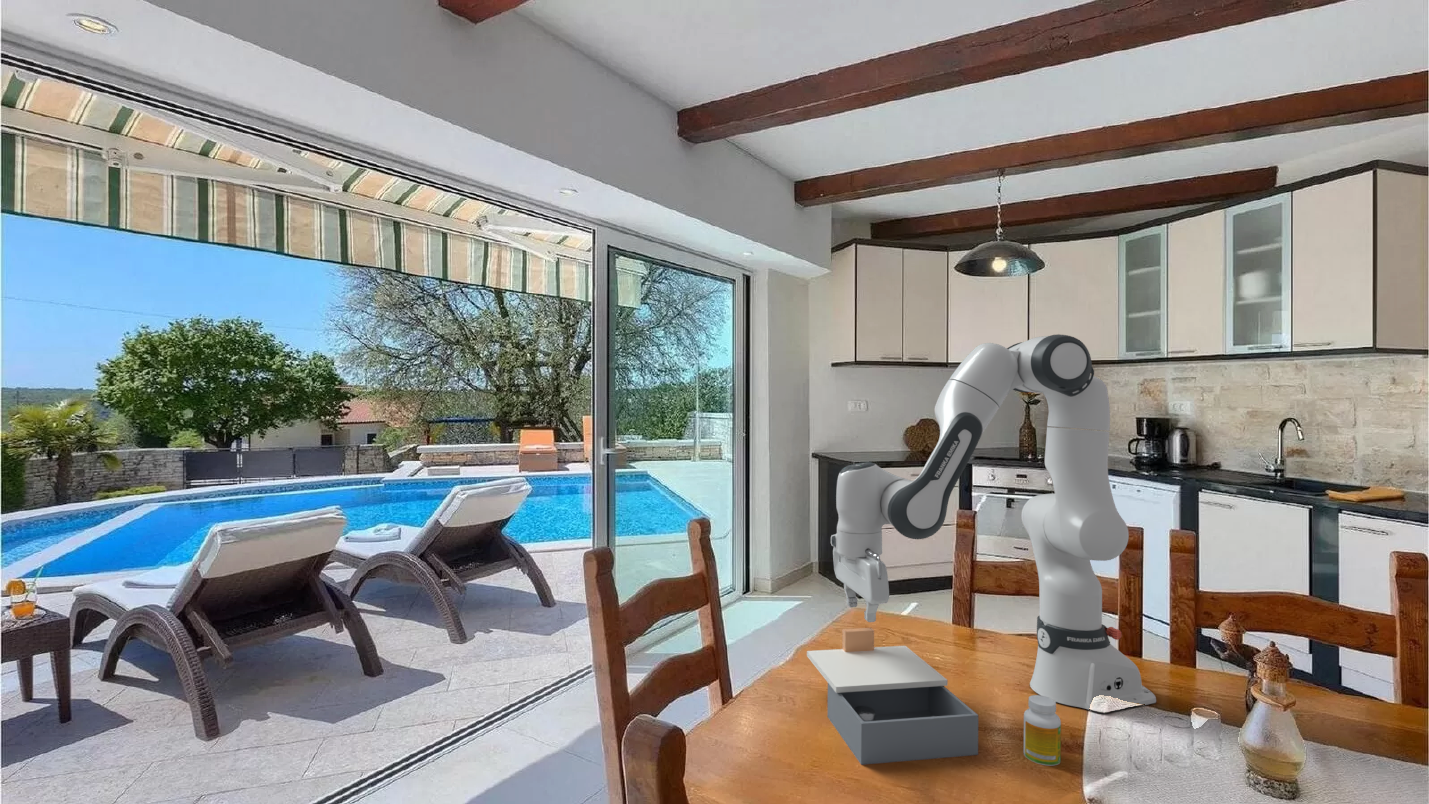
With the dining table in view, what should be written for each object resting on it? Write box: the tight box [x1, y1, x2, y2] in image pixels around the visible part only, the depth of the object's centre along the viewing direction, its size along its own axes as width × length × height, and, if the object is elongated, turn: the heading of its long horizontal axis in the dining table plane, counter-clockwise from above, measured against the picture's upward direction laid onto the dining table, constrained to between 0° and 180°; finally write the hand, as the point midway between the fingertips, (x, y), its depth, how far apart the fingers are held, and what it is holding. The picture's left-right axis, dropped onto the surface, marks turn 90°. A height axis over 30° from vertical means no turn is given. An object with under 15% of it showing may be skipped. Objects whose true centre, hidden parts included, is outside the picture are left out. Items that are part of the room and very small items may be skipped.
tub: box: [827, 682, 979, 766], centre depth 113 cm, size 20×16×7 cm
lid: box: [806, 627, 948, 693], centre depth 124 cm, size 21×17×5 cm
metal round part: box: [854, 706, 875, 722], centre depth 115 cm, size 4×4×3 cm
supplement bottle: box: [1023, 694, 1062, 767], centre depth 106 cm, size 5×5×10 cm
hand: (860, 613), depth 131 cm, fingers open, 8 cm apart
